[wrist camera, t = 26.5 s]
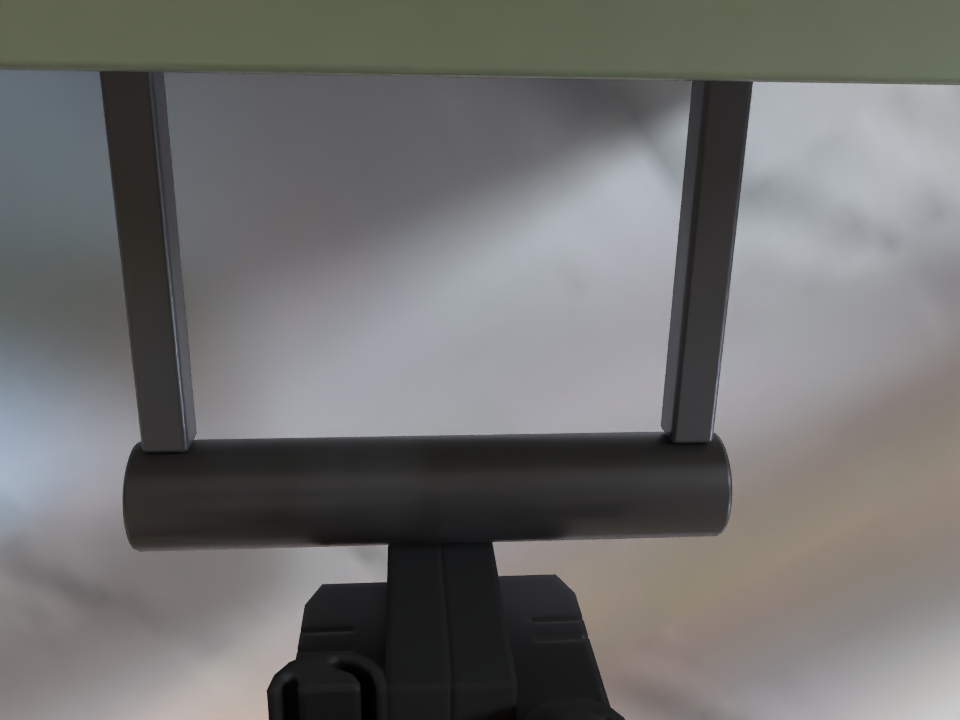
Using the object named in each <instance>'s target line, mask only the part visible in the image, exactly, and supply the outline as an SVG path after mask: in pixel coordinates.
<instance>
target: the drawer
mask: <svg viewBox="0 0 960 720" xmlns="http://www.w3.org/2000/svg"><path fill="white" fill-rule="evenodd" d="M0 70H59V71H99V73H100V82H101V90H102V99H103V108H104V117H105V125H106V134H107V143H108V152H109V161H110V169H111V178H112V187H113V196H114V205H115V213H116V222H117V231H118V240H119V248H120V257H121V266H122V275H123V284H124V292H125V301H126V310H127V319H128V328H129V336H130V345H131V354H132V363H133V372H134V380H135V389H136V398H137V407H138V415H139V424H140V433H141V442H139V443H137V444H136V445H135V446H134V447H133V449H132V451H131V453H130V456H129V459H128V462H127V466H126V471H125V476H124V484H123V518H124V525H125V530H126V534H127V538H128V541H129V543H130V545H131V547H132V548H133V549H135V550H137V551H141V552H143V551H180V550H217V549H254V548H292V547H329V546H366V545H403V544H440V543H477V542H515V541H552V540H589V539H626V538H663V537H700V536H717V535H719V534H721V533H722V532H723V531H724V530H725V528H726V526H727V523H728V520H729V516H730V511H731V504H732V478H731V470H730V464H729V460H728V456H727V452H726V449H725V447H724V444H723V442H722V440H721V439H720V437H719V436H718V435H717V434H715V433H713V430H714V421H715V413H716V404H717V395H718V386H719V377H720V368H721V359H722V351H723V342H724V333H725V324H726V315H727V306H728V297H729V288H730V280H731V271H732V262H733V253H734V244H735V235H736V226H737V217H738V209H739V200H740V191H741V182H742V173H743V164H744V155H745V146H746V138H747V129H748V120H749V111H750V102H751V93H752V84H753V82H809V83H872V84H934V85H960V0H0ZM164 72H184V73H247V74H309V75H372V76H434V77H497V78H559V79H622V80H684V81H692V92H691V103H690V114H689V125H688V136H687V146H686V157H685V168H684V179H683V190H682V201H681V212H680V223H679V234H678V245H677V255H676V266H675V277H674V288H673V299H672V310H671V321H670V332H669V343H668V354H667V364H666V375H665V386H664V397H663V408H662V419H661V427H662V429H663V430H664V432H621V433H562V434H503V435H445V436H386V437H327V438H268V439H209V440H194V438H195V435H196V433H197V432H196V421H195V410H194V399H193V389H192V378H191V367H190V356H189V345H188V334H187V323H186V312H185V301H184V290H183V279H182V268H181V258H180V247H179V236H178V225H177V214H176V203H175V192H174V181H173V170H172V159H171V148H170V137H169V127H168V116H167V105H166V94H165V83H164Z"/></svg>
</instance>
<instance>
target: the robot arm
mask: <svg viewBox="0 0 960 720" xmlns="http://www.w3.org/2000/svg"><path fill="white" fill-rule="evenodd" d="M267 697H268V710H269V720H625V719H624V717H622V716H621V715H620V714H618V713H617V712H616V711H614V710H613V709H612V708H611V707H610V704H609V701H608V698H607V695H606V692H605V688H604V685H603V682H602V679H601V675H600V672H599V669H598V666H597V663H596V659H595V656H594V653H593V650H592V647H591V643H590V640H589V639H588V634H587V631H586V627H585V624H584V621H583V620H582V614H581V611H580V608H579V605H578V602H577V598H576V595H575V593H574V592H573V591H572V590H571V589H570V588H569V587H568V586H567V585H566V584H565V583H564V582H563V581H562V580H561V579H560V578H559V577H557V576H556V575H525V576H498V572H497V567H496V561H495V556H494V550H493V544H492V542H477V543H440V544H403V545H388V576H387V582H382V583H351V584H322V585H321V587H320V588H319V589H318V590H317V591H316V593H315V594H314V595H313V596H312V597H311V599H310V600H309V601H308V602H307V603H306V605H305V608H304V614H303V620H302V626H301V633H300V638H299V644H298V653H297V656H296V660H294V661H292V662H289V663H288V664H287V665H286V666H285V667H283V668H282V669H281V670H280V671H279V672H278V673H276V674H275V675H274V677H273V679H272V681H271V683H270V685H269V687H268V689H267Z"/></svg>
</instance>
